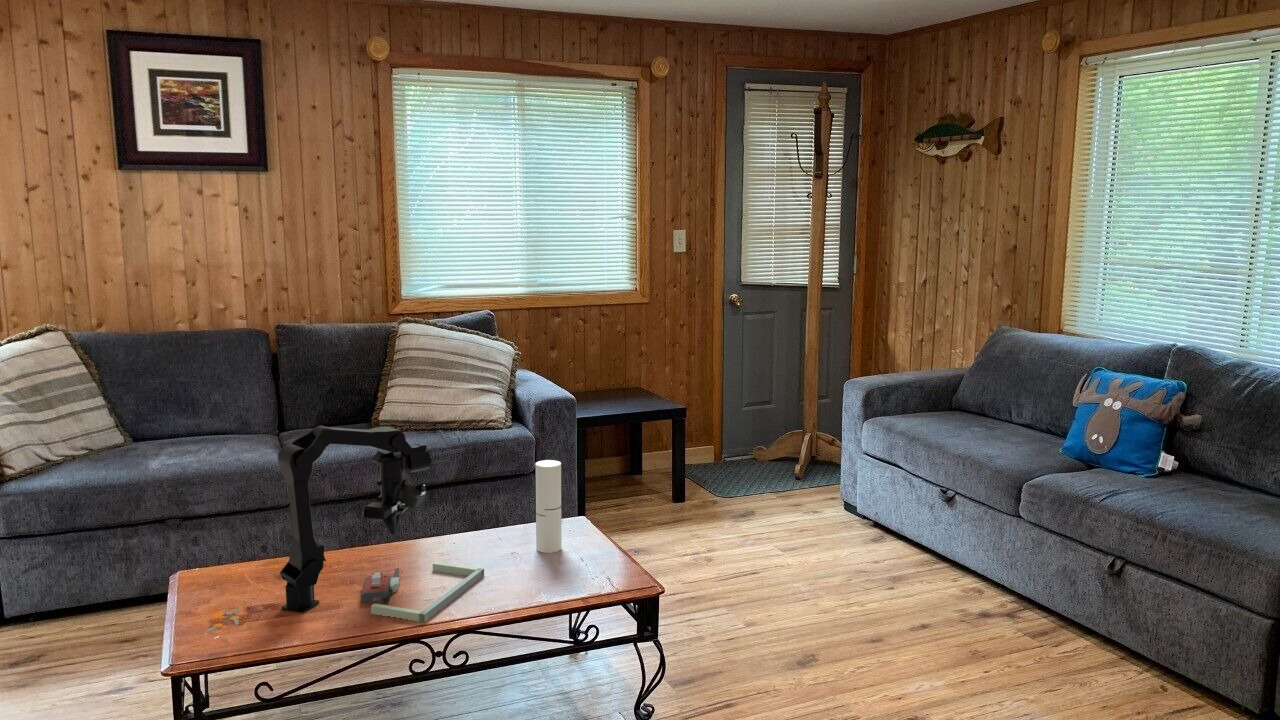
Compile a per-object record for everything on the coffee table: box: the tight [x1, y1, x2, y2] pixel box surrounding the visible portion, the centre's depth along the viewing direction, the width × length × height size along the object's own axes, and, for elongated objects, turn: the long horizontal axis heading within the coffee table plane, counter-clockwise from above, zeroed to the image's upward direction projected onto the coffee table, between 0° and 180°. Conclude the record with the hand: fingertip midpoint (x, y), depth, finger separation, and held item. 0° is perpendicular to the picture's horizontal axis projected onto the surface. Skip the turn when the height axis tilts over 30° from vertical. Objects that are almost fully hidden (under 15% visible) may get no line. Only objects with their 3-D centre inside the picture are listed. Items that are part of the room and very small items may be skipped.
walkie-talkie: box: [360, 567, 401, 604], centre depth 243 cm, size 9×4×20 cm
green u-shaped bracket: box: [370, 561, 485, 624], centre depth 240 cm, size 30×14×2 cm, turn 162°
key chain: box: [205, 606, 241, 633], centre depth 225 cm, size 13×7×1 cm, turn 15°
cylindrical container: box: [535, 459, 562, 554], centre depth 270 cm, size 7×7×25 cm
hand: (393, 534), depth 248 cm, fingers closed
